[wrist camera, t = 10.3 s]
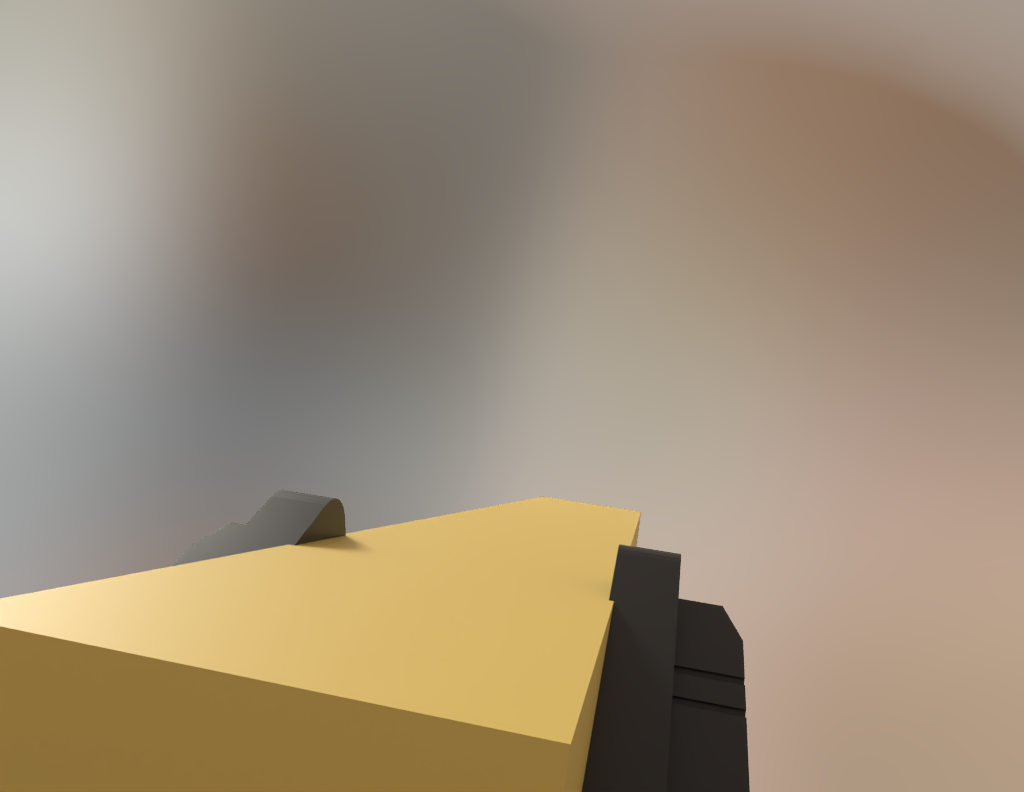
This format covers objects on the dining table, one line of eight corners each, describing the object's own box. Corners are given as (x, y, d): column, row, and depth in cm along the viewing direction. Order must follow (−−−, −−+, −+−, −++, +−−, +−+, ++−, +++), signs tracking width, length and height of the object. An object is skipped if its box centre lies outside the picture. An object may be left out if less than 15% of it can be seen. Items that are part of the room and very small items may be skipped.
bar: (-204, 1301, 4) (-71, 612, 4) (529, 594, 30) (543, 496, 30) (456, 1558, 4) (570, 746, 4) (627, 611, 29) (641, 511, 29)
